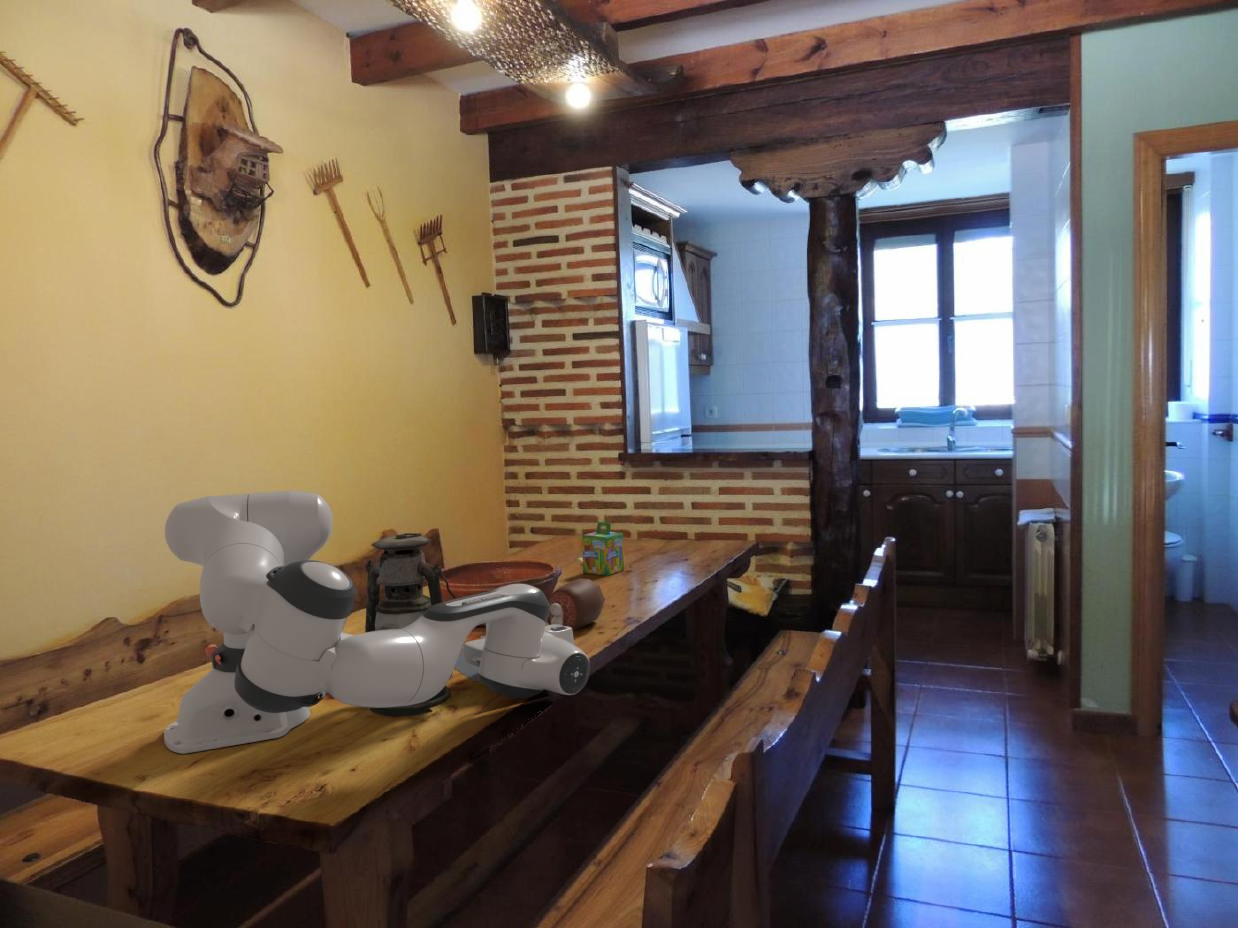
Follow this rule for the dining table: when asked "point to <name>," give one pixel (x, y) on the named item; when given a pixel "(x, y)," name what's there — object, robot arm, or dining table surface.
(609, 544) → the chalk box
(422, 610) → the lantern
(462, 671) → the mat
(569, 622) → the meat
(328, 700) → the dining table surface
